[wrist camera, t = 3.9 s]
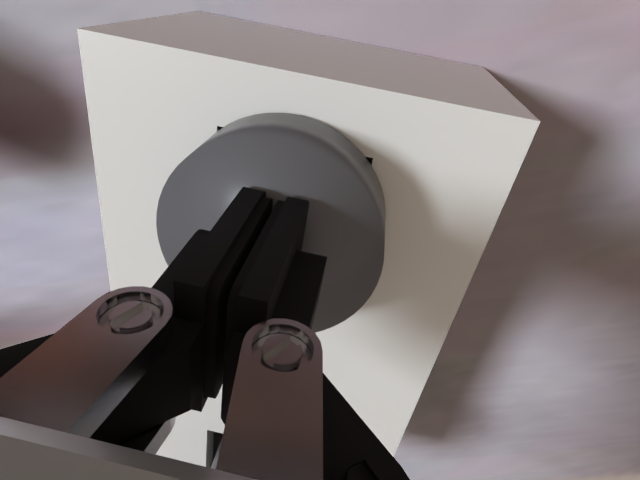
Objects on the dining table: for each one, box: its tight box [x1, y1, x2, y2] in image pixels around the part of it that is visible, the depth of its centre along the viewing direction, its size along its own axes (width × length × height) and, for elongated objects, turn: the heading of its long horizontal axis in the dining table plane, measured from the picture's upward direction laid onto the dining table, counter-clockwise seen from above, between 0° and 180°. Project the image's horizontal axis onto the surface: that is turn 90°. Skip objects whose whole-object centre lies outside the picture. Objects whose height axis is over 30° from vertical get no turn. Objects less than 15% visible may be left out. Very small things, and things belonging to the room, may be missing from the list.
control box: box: [77, 11, 541, 468], centre depth 20 cm, size 22×12×8 cm, turn 171°
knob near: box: [156, 113, 386, 333], centre depth 14 cm, size 6×6×8 cm
